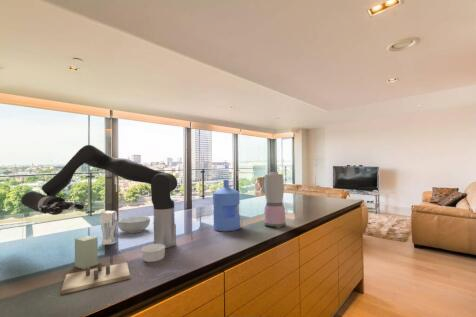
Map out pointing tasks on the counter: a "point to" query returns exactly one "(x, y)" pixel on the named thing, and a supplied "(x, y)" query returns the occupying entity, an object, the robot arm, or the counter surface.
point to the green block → (86, 251)
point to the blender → (274, 199)
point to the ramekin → (153, 252)
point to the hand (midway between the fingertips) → (70, 208)
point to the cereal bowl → (133, 224)
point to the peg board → (95, 277)
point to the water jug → (226, 208)
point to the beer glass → (108, 227)
